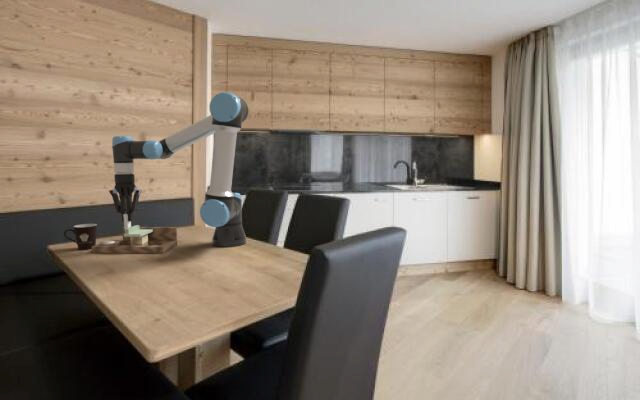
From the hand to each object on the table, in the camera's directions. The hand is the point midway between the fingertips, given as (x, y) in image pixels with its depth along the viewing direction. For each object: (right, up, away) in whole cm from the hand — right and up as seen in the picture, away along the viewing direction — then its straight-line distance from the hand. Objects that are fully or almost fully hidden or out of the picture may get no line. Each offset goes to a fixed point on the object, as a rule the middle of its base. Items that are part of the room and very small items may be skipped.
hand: (127, 228), depth 166 cm
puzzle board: (+3, -9, +1) cm, 9 cm away
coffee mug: (-20, -9, +2) cm, 22 cm away
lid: (+5, -2, 0) cm, 5 cm away
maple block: (+5, -9, +1) cm, 10 cm away
